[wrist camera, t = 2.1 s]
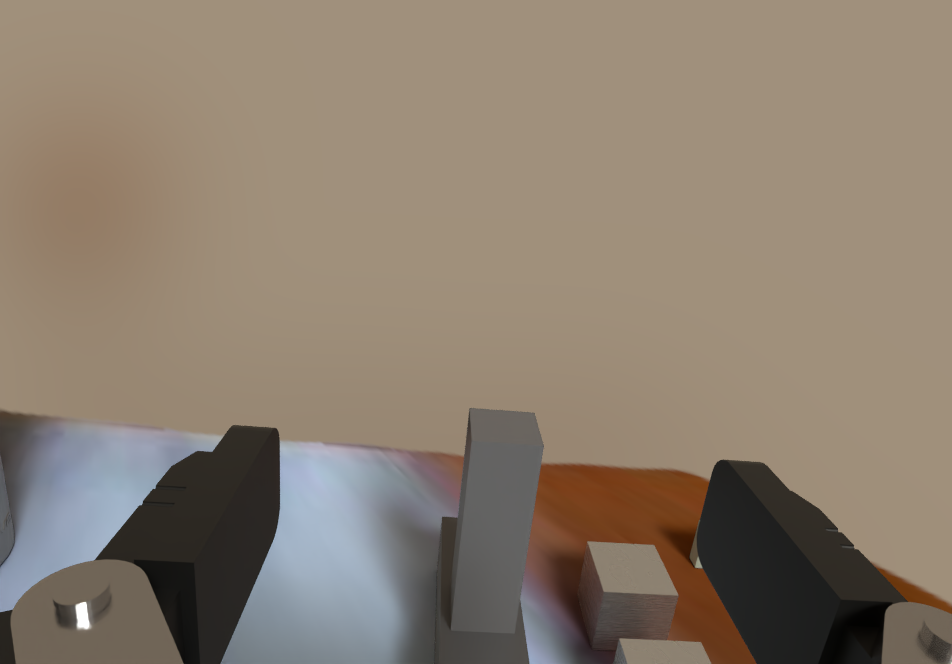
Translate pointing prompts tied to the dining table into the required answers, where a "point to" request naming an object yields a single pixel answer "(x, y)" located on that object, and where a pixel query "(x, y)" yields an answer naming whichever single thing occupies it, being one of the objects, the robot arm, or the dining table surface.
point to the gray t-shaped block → (488, 542)
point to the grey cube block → (625, 594)
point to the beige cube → (659, 652)
